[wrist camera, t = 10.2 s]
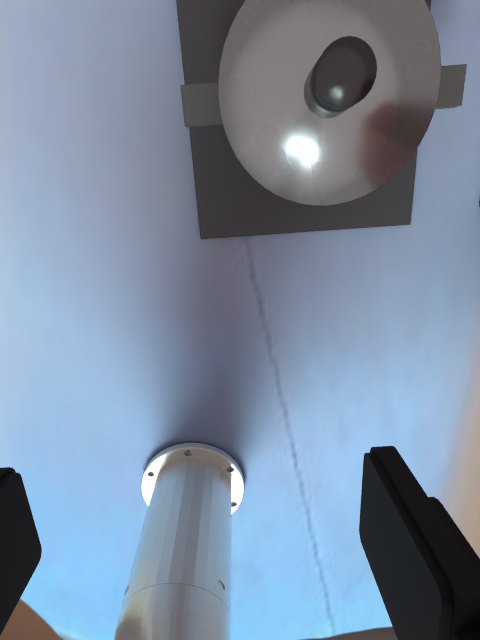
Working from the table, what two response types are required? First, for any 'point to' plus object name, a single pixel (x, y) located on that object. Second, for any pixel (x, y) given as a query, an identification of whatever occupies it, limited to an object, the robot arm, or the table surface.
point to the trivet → (231, 177)
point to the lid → (328, 93)
